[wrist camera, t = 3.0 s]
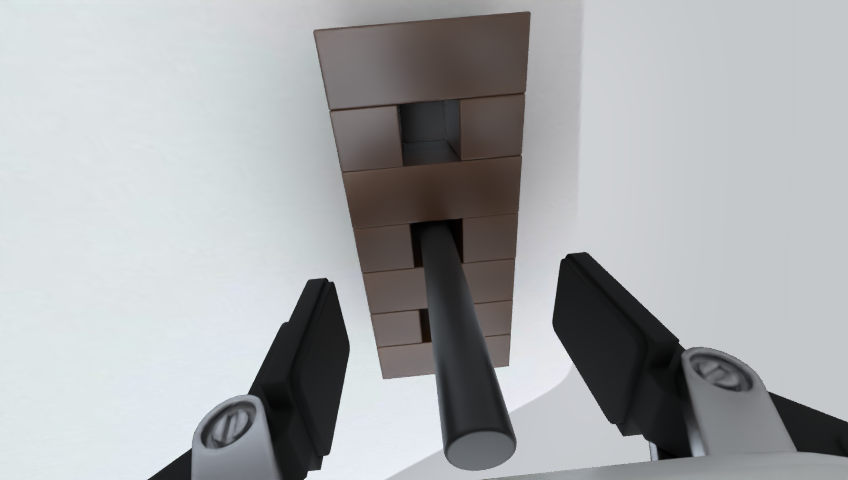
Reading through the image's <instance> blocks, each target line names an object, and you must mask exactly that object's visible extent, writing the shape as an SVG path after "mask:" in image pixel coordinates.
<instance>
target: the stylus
mask: <svg viewBox="0 0 848 480" xmlns="http://www.w3.org/2000/svg"><path fill="white" fill-rule="evenodd" d="M419 230H420V240H421V249H422V258H423V267H424V276H425V285H426V294H427V303H428V312H429V321H430V330H431V339H432V348H433V358H434V367H435V376H436V385H437V394H438V403H439V412H440V421H441V430H442V439H443V448H444V454H445V457H446V458H447V460H448V461H449V463H451V464H452V465H453V466H455V467H457V468H460V469H464V470H471V471H473V470H474V471H477V470H486V469H490V468H493V467H496V466H498V465H501V464H502V463H504V462H506V461H507V460H508V459H509V458H510V457H511V456H512V455H513V454H514V452H515V450H516V437H515V434H514V431H513V427H512V424H511V421H510V418H509V415H508V411H507V408H506V405H505V402H504V399H503V395H502V392H501V389H500V386H499V383H498V380H497V376H496V373H495V370H494V367H493V364H492V360H491V357H490V354H489V351H488V348H487V344H486V341H485V338H484V335H483V332H482V329H481V325H480V322H479V319H478V316H477V313H476V309H475V306H474V303H473V300H472V297H471V293H470V290H469V287H468V284H467V281H466V278H465V274H464V271H463V268H462V265H461V262H460V258H459V255H458V252H457V249H456V246H455V242H454V239H453V236H452V233H451V230H450V226H449V223H448V220H437V221H426V222H419Z"/></svg>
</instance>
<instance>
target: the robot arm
mask: <svg viewBox="0 0 848 480" xmlns="http://www.w3.org/2000/svg"><path fill="white" fill-rule="evenodd" d="M552 323H553V328H554V331H555V333H556V334H557V336H558V338H559V339H560V341H561V343H562V344H563V346H564V348H565V349H566V351H567V353H568V354H569V356H570V358H571V359H572V361H573V363H574V364H575V366H576V368H577V369H578V371H579V373H580V374H581V376H582V378H583V379H584V381H585V383H586V384H587V386H588V388H589V390H590V391H591V393H592V395H593V396H594V398H595V399H596V401H597V403H598V405H599V406H600V408H601V410H602V411H603V413H604V414H605V416H606V418H607V419H608V421H609V422H610V423H612V424H616V425H617V427H618V429H619V431H620V432H621V434H622V435H623V436H631V435H641V434H642V435H643V436H644V438H645V439H646V440H647V441H649V448H650V456H651V461H649V462H640V463H630V464H621V465H611V466H602V467H592V468H583V469H573V470H565V471H555V472H546V473H538V474H528V475H519V476H510V477H501V478H492V479H484V480H848V422H846V421H843V420H841V419H838V418H836V417H833V416H830V415H828V414H825V413H823V412H820V411H817V410H814V409H812V408H810V407H807V406H804V405H802V404H799V403H797V402H794V401H791V400H789V399H786V398H784V397H781V396H778V395H776V394H773V393H771V392H768V391H767V390H766V388H765V386H764V384H763V382H762V380H761V379H760V377H759V376H758V374H757V373H756V372H755V371H754V370H753V369H752V368H750V367H749V366H748V365H747V364H745V363H744V362H742V361H741V360H739V359H737V358H736V357H733V356H731V355H729V354H727V353H725V352H722V351H719V350H715V349H712V348H704V347H693V348H690V349H688V350H685V349H684V348H683V347H682V346H681V345H680V344H679V339H678V338H677V337H675V336H674V335H673V334H672V333H671V332H670V331H669V330H668V329H667V328H666V327H665V326H664V325H663V324H662V323H661V322H660V321H659V320H658V319H657V318H656V317H655V316H653V315H652V314H651V313H650V312H649V311H648V310H647V309H646V308H645V307H644V306H643V305H642V304H641V303H640V302H639V301H638V300H637V299H636V298H635V297H633V296H632V295H631V294H630V293H629V292H628V291H627V290H626V289H625V288H624V287H623V286H622V285H621V284H620V283H619V282H618V281H617V280H616V279H614V278H613V277H612V276H611V275H610V274H609V273H608V272H607V271H606V270H605V269H604V268H603V267H602V266H601V265H600V264H598V263H597V261H596V260H594V259H593V258H592V257H591V256H590V255H589V254H588V253H586V252H582V253H572V254H567V255H566V257H565V259H562V260H561V263H560V270H559V277H558V284H557V291H556V298H555V306H554V313H553V320H552ZM349 351H350V345H349V339H348V335H347V331H346V327H345V324H344V320H343V316H342V312H341V308H340V304H339V300H338V296H337V292H336V288H335V284H334V282H329V281H328V279H327V278H320V279H310V280H308V281H307V283H306V285H305V288H304V290H303V292H302V294H301V296H300V298H299V300H298V303H297V305H296V307H295V309H294V311H293V313H292V315H291V318H290V320H289V322H285V323H283V324H282V325H281V327H280V329H279V331H278V333H277V335H276V337H275V339H274V341H273V343H272V345H271V347H270V349H269V351H268V353H267V355H266V357H265V360H264V362H263V364H262V366H261V368H260V370H259V372H258V374H257V376H256V378H255V380H254V382H253V384H252V386H251V388H250V390H249V392H248V394H247V395H240V396H236V397H233V398H230V399H228V400H226V401H224V402H222V403H221V404H219V405H217V406H216V407H215V408H214V409H212V410H211V411H210V412H209V413H208V414H207V415H206V416H205V417H204V418H203V419H202V421H201V422H200V423H199V425H198V427H197V428H196V430H195V432H194V436H193V440H192V448H191V449H190V450H188V451H187V452H186V453H184V454H183V455H181V456H180V457H179V458H177V459H176V460H174V461H173V462H172V463H170V464H169V465H168V466H166V467H165V468H163V469H162V470H161V471H159V472H158V473H156V474H155V475H154V476H152V477H151V478H149V479H148V480H304V479H305V478H306V477H307V473H308V471H313V470H321V465H322V460H323V456H326V455H329V453H330V450H331V446H332V440H333V435H334V430H335V425H336V420H337V414H338V409H339V404H340V399H341V394H342V388H343V383H344V378H345V373H346V368H347V362H348V357H349Z"/></svg>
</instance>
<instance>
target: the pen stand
mask: <svg viewBox="0 0 848 480" xmlns="http://www.w3.org/2000/svg"><path fill="white" fill-rule="evenodd" d="M530 15H531V13H530V12H529V11H527V12H515V13H504V14H492V15H480V16H469V17H457V18H445V19H434V20H422V21H410V22H399V23H387V24H376V25H364V26H352V27H341V28H329V29H317V30H314V32H313V33H314V38H315V43H316V48H317V53H318V58H319V63H320V68H321V72H322V77H323V82H324V87H325V92H326V97H327V102H328V107H329V110H331V111H330V112H329V113H330V118H331V123H332V127H333V132H334V137H335V142H336V147H337V152H338V157H339V162H340V167H341V171H342V177H343V182H344V187H345V192H346V197H347V202H348V207H349V212H350V217H351V222H352V227H353V232H354V237H355V242H356V247H357V252H358V257H359V262H360V267H361V271H362V276H363V281H364V286H365V291H366V296H367V301H368V306H369V311H370V313H371V314H370V316H371V321H372V326H373V331H374V336H375V341H376V346H377V351H378V356H379V361H380V366H381V371H382V376H383V379H391V378H401V377H410V376H420V375H429V374H435V367H434V358H433V348H432V339H431V330H430V321H429V312H428V303H427V294H426V285H425V276H424V267H423V258H422V249H421V240H420V230H419V224H415V225H412V223H416V222H426V221H437V220H447V219H450V221H448V223H449V226H450V230H451V233H452V236H453V239H454V242H455V246H456V249H457V252H458V255H459V258H460V262H461V265H462V268H463V271H464V274H465V278H466V281H467V284H468V287H469V290H470V293H471V297H472V300H473V303H474V306H475V309H476V313H477V316H478V319H479V322H480V325H481V329H482V332H483V335H484V338H485V341H486V344H487V348H488V351H489V354H490V357H491V360H492V364H493V367H494V368H496V367H505V366H509V355H510V339H511V334H510V333H511V321H512V305H513V300H512V299H513V286H514V270H515V257H516V243H517V227H518V211H519V195H520V179H521V163H522V156H521V153H522V140H523V124H524V108H525V94H524V93H525V92H526V80H527V64H528V48H529V31H530ZM442 100H444V108H445V130H446V139H447V140H438V141H427V142H416V143H406V144H403V135H402V126H401V116H400V107H399V104H409V103H420V102H431V101H442Z"/></svg>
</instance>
